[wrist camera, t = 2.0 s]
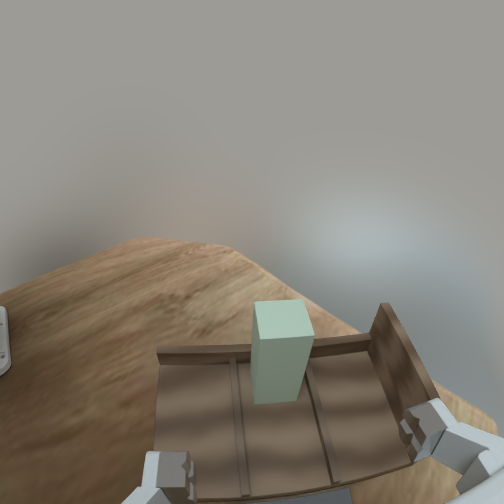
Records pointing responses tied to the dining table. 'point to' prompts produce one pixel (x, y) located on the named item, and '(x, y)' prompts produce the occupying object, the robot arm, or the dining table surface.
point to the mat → (317, 498)
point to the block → (279, 350)
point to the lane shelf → (291, 414)
